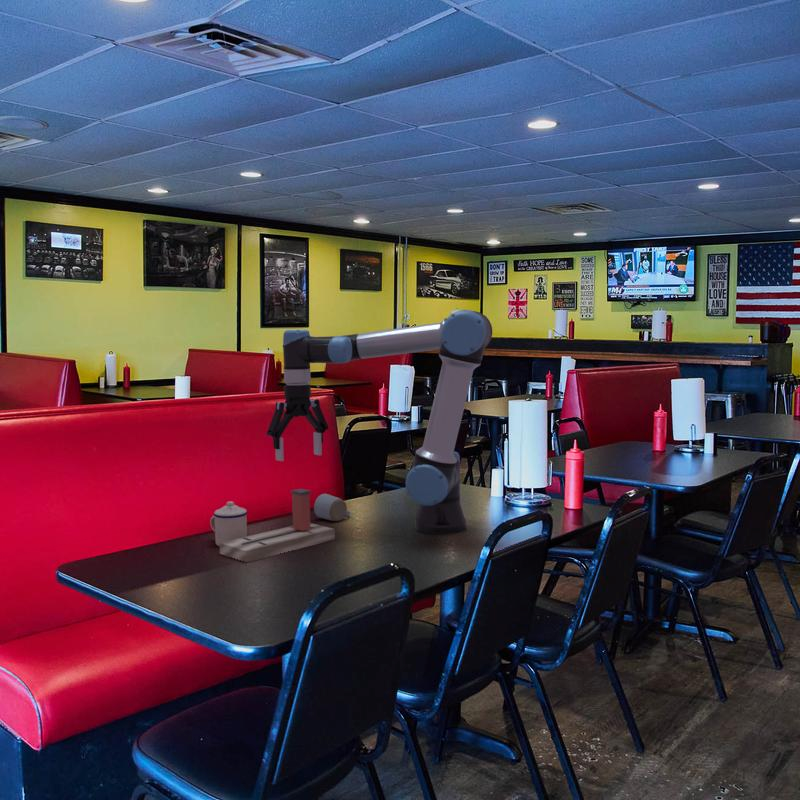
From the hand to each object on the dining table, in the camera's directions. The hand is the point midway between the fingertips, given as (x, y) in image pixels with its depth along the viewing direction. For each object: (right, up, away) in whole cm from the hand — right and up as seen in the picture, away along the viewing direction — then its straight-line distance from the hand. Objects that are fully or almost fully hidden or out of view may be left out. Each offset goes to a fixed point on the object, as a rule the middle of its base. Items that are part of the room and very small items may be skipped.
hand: (299, 457), depth 236 cm
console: (-4, -23, -12) cm, 27 cm away
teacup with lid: (-19, -23, -7) cm, 31 cm away
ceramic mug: (+8, -21, +19) cm, 29 cm away
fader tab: (+2, -19, -7) cm, 21 cm away
